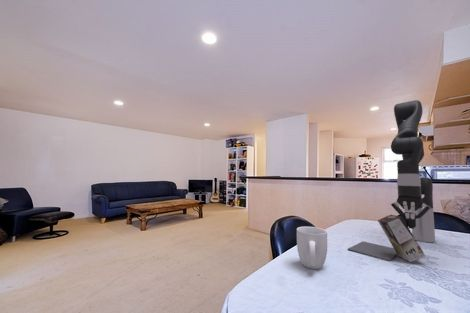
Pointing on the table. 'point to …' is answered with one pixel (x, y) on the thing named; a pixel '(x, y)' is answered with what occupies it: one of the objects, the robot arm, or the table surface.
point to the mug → (312, 246)
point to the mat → (374, 250)
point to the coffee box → (401, 238)
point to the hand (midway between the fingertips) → (411, 228)
